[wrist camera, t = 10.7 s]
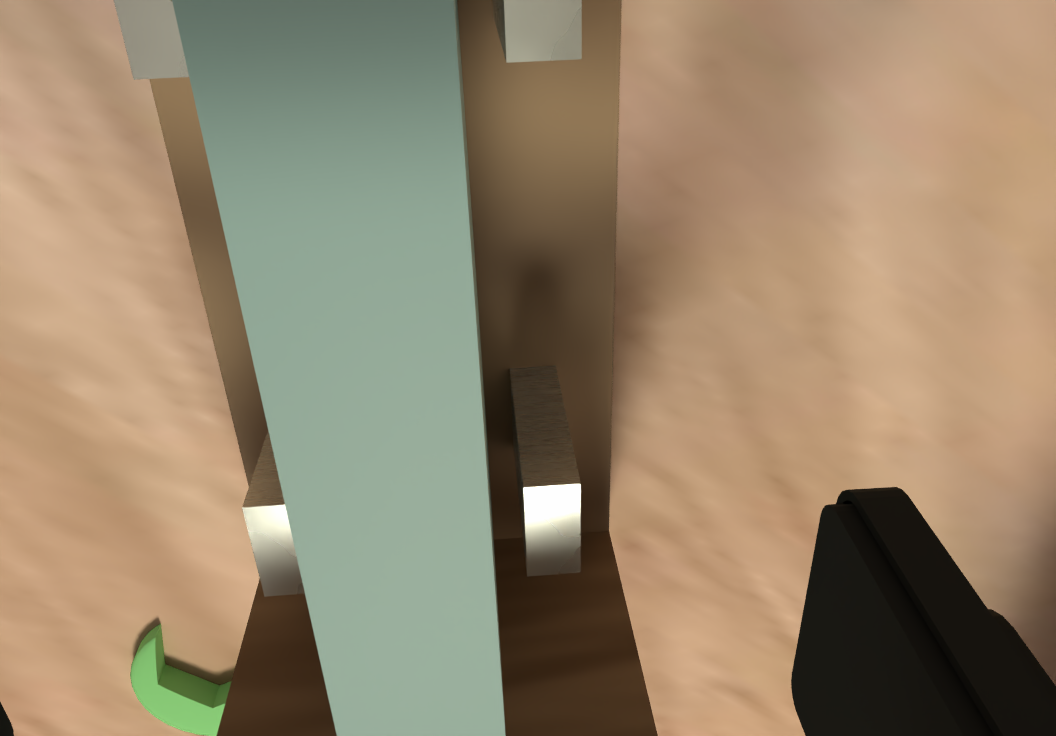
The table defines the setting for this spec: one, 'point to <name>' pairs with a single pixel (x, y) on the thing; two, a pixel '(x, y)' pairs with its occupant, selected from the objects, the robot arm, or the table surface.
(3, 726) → the robot arm
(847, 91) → the table surface
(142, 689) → the wrench
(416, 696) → the pale teal rectangular block
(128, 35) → the cabinet base
